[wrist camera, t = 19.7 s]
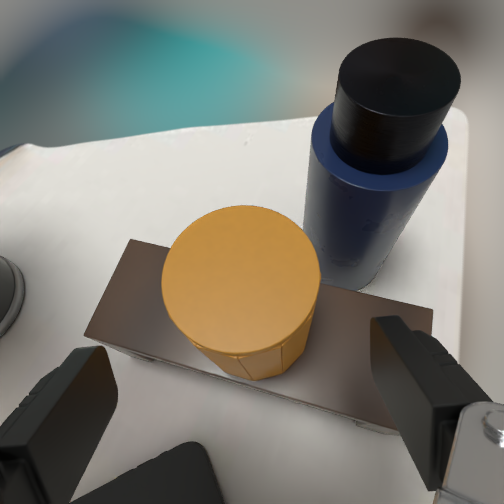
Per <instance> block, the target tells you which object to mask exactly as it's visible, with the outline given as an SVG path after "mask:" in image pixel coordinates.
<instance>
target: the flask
mask: <svg viewBox="0 0 504 504" xmlns="http://www.w3.org/2000/svg"><path fill="white" fill-rule="evenodd" d="M460 84H461V76H460V72H459V69H458V67H457V65H456V64H455V62H454V61H453V60H452V59H451V57H450V56H448V55H447V54H446V53H445V52H443V51H442V50H440V49H439V48H437V47H435V46H433V45H430V44H428V43H425V42H422V41H419V40H414V39H408V38H384V39H378V40H374V41H370V42H367V43H365V44H362V45H361V46H359V47H357V48H355V49H354V50H352V51H351V52H350V53H349V54H348V55H347V56H346V57H345V59H344V60H343V62H342V64H341V66H340V69H339V75H338V81H337V88H336V94H335V101H334V102H333V103H331V104H330V105H329V106H327V107H326V108H325V109H324V110H323V111H322V112H321V114H320V115H319V116H318V118H317V119H316V121H315V123H314V126H313V129H312V134H311V145H310V156H309V167H308V178H307V189H306V200H305V211H304V222H303V232H304V233H305V234H306V235H307V237H308V238H309V240H310V241H311V243H312V245H313V247H314V249H315V251H316V254H317V258H318V261H319V267H320V273H321V282H320V283H322V284H326V285H330V286H335V287H339V288H343V289H348V290H352V291H356V290H359V289H361V288H363V287H365V286H366V285H367V284H369V283H370V282H371V281H372V279H373V278H374V277H375V275H376V273H377V272H378V270H379V268H380V267H381V265H382V264H383V262H384V260H385V259H386V257H387V255H388V254H389V252H390V250H391V249H392V247H393V245H394V244H395V242H396V241H397V239H398V237H399V236H400V234H401V232H402V231H403V229H404V227H405V226H406V224H407V222H408V221H409V219H410V218H411V216H412V214H413V213H414V211H415V209H416V208H417V206H418V204H419V203H420V201H421V199H422V198H423V196H424V194H425V193H426V191H427V190H428V188H429V186H430V185H431V183H432V181H433V180H434V178H435V176H436V175H437V173H438V171H439V170H440V168H441V167H442V165H443V163H444V161H445V159H446V156H447V152H448V138H447V133H446V131H445V128H444V126H443V124H442V122H443V120H444V118H445V117H446V115H447V113H448V111H449V109H450V107H451V105H452V103H453V101H454V99H455V97H456V95H457V94H458V91H459V89H460Z"/></svg>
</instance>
